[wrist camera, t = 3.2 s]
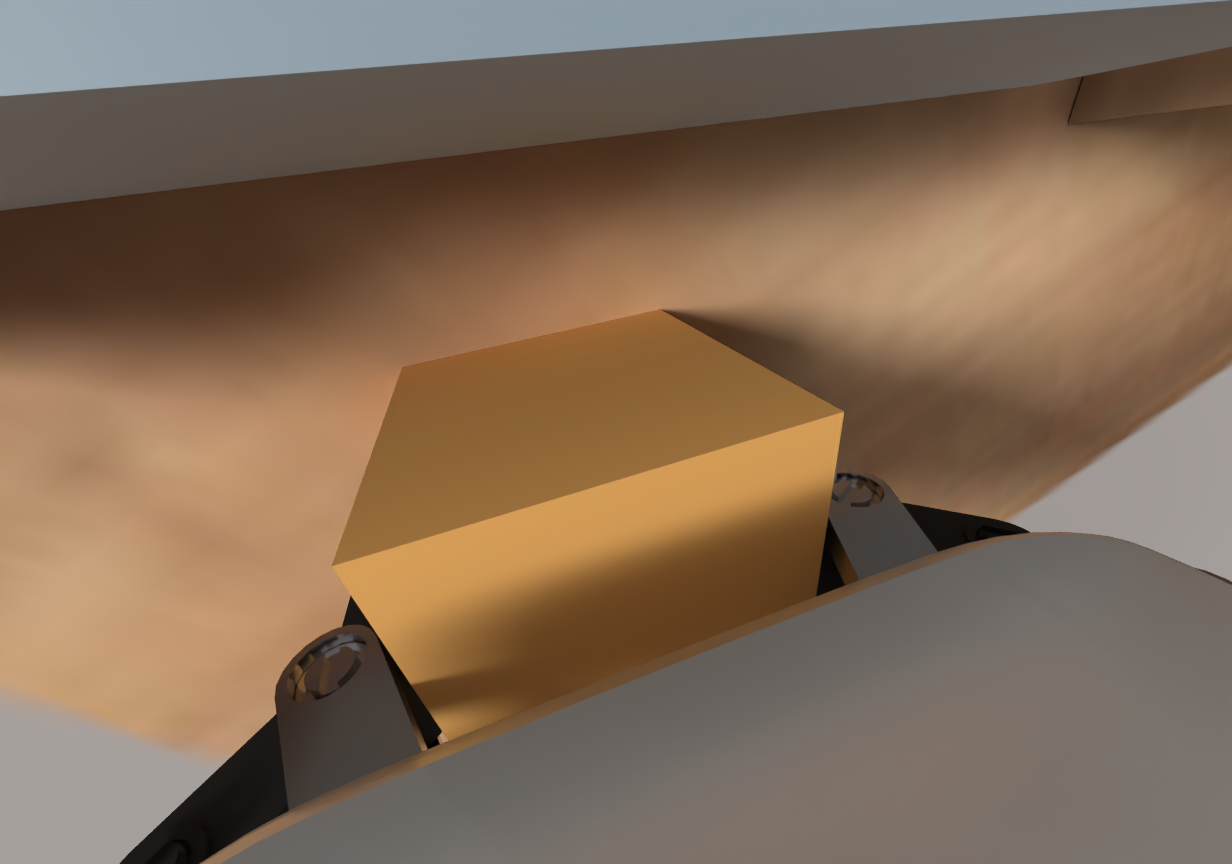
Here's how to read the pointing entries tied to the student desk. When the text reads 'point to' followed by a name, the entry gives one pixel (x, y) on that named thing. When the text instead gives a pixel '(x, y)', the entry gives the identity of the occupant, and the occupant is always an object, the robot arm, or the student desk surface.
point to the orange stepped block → (582, 511)
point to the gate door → (497, 74)
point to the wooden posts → (1156, 87)
